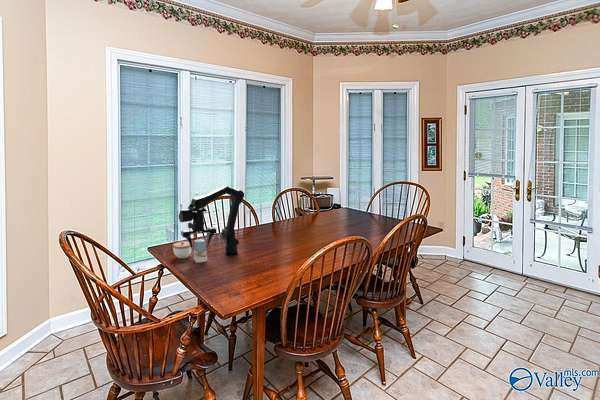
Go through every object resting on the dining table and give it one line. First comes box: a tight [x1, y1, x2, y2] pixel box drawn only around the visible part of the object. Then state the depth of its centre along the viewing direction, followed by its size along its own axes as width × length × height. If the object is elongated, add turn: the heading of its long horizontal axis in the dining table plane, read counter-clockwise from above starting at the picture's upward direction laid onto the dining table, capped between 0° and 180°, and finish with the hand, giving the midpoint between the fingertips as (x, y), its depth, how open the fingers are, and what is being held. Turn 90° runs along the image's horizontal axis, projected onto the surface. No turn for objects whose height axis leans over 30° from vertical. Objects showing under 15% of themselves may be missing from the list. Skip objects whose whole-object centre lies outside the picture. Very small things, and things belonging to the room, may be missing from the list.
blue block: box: [193, 238, 207, 253], centre depth 206 cm, size 5×5×6 cm
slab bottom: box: [193, 255, 208, 264], centre depth 207 cm, size 6×6×3 cm
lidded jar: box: [172, 241, 193, 259], centre depth 212 cm, size 11×11×9 cm
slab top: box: [193, 249, 208, 258], centre depth 207 cm, size 6×6×3 cm
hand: (199, 246), depth 206 cm, fingers open, 9 cm apart
